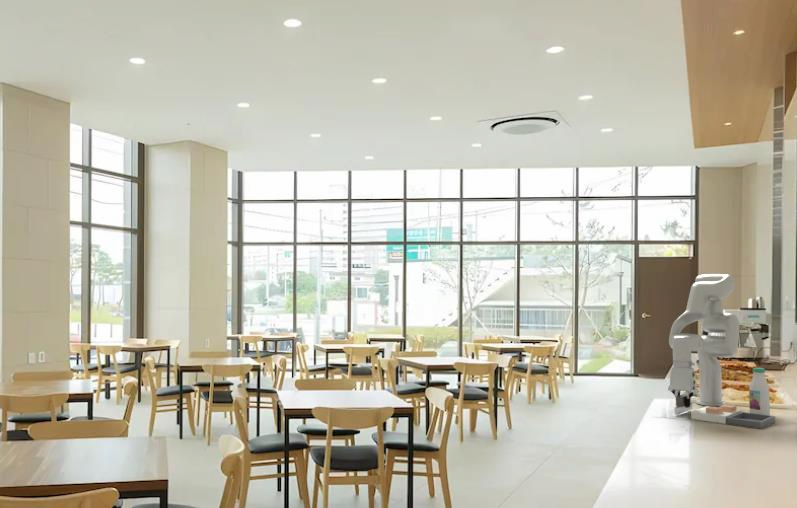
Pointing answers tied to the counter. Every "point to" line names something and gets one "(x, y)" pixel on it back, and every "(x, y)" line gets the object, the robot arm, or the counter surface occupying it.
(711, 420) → the offwhite board
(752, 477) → the counter surface
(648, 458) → the counter surface
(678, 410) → the dark block with bar
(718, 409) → the tile
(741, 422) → the tray
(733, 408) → the tile
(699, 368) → the robot arm
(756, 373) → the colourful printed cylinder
